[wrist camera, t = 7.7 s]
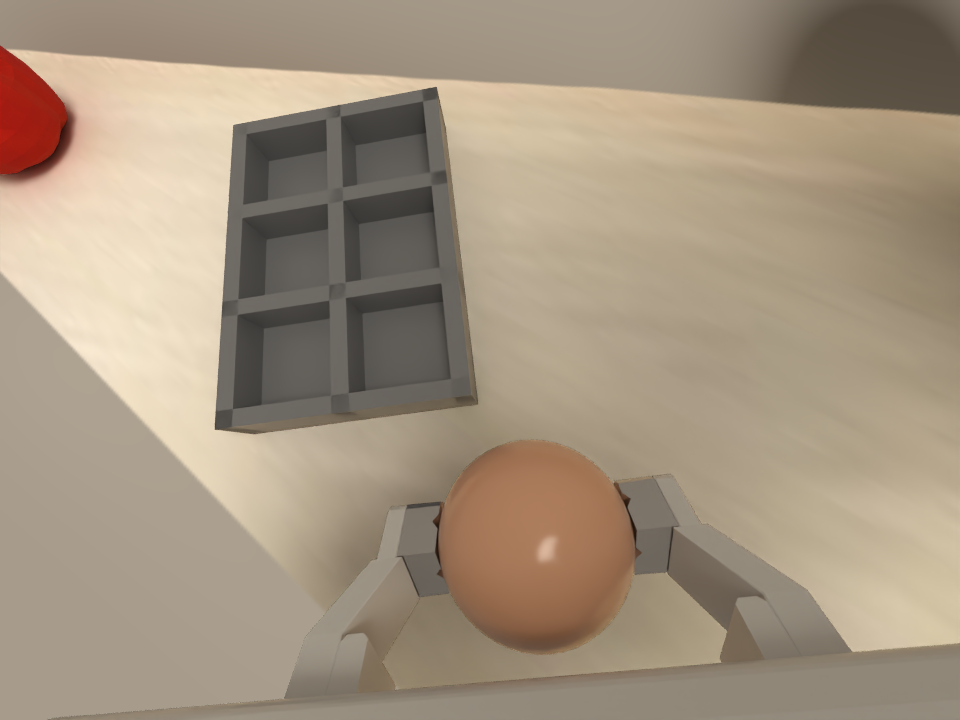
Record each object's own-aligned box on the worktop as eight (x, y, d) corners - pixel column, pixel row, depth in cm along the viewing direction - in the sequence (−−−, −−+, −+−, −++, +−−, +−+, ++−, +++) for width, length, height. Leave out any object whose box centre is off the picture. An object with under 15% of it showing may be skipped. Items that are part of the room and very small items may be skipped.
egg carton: (445, 127, 36) (436, 86, 32) (478, 404, 29) (471, 394, 25) (263, 160, 37) (233, 125, 33) (253, 434, 30) (214, 429, 26)
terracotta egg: (580, 440, 16) (634, 418, 8) (605, 572, 15) (695, 694, 7) (463, 455, 16) (406, 447, 8) (476, 585, 15) (425, 715, 7)
